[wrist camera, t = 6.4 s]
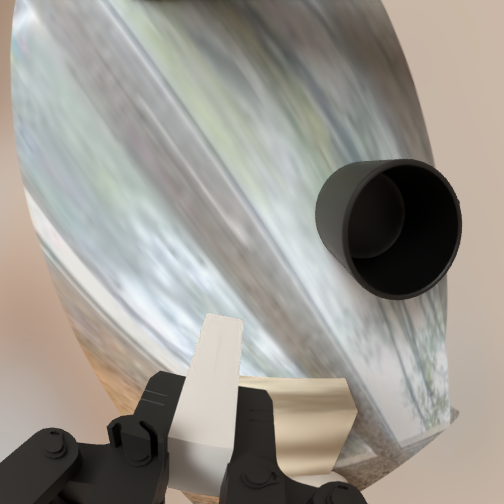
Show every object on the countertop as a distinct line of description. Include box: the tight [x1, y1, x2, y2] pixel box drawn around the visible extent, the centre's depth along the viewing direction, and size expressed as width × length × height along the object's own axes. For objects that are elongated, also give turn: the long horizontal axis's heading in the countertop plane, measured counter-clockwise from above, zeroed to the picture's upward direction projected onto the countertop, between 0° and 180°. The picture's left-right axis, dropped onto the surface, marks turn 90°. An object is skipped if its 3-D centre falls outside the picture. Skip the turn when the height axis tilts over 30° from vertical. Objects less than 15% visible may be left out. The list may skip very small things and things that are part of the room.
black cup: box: [315, 159, 462, 300], centre depth 22 cm, size 9×12×9 cm
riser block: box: [238, 376, 358, 476], centre depth 30 cm, size 12×12×6 cm
